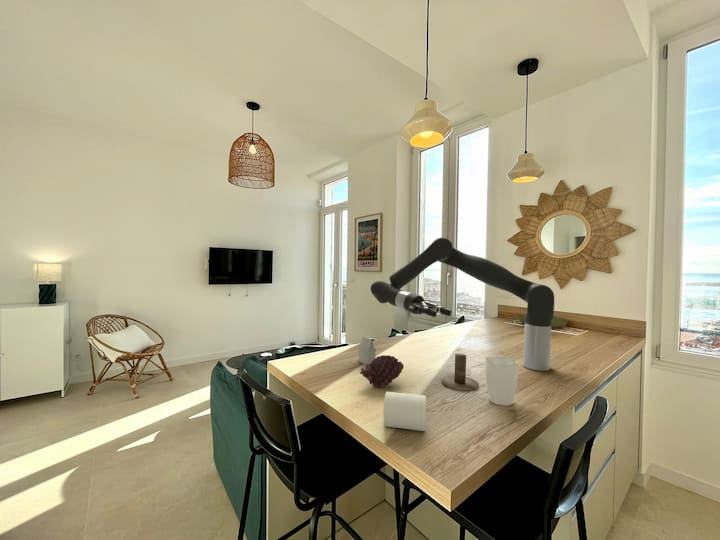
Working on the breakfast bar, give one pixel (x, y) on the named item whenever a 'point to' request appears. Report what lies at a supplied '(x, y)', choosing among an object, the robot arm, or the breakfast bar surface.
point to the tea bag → (366, 351)
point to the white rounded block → (404, 411)
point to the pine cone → (382, 370)
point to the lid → (460, 376)
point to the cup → (501, 379)
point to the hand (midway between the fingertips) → (443, 313)
